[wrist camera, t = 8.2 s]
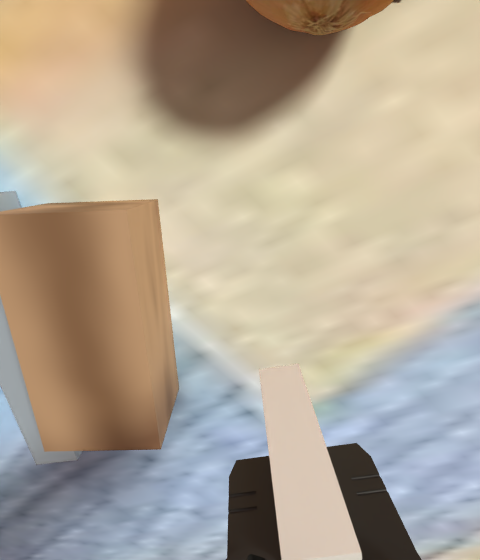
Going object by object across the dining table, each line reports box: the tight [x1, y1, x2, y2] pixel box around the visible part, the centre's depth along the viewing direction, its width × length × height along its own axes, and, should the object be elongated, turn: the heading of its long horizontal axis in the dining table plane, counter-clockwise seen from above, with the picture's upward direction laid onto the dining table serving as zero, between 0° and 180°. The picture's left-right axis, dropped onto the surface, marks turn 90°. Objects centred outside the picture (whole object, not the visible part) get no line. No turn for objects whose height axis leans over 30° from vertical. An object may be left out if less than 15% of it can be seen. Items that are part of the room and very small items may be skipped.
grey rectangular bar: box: [0, 191, 83, 465], centre depth 22 cm, size 3×18×4 cm, turn 9°
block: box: [0, 199, 179, 452], centre depth 20 cm, size 7×14×6 cm, turn 2°
